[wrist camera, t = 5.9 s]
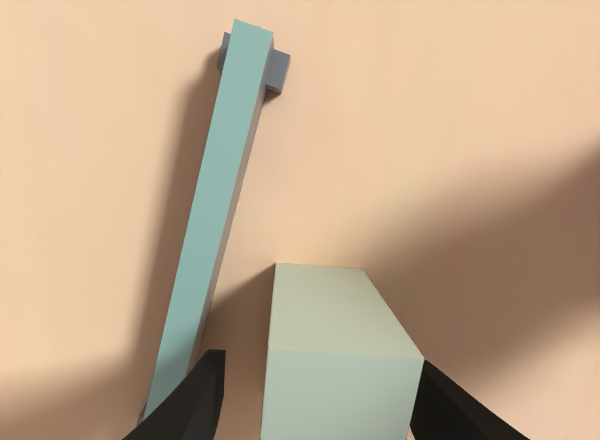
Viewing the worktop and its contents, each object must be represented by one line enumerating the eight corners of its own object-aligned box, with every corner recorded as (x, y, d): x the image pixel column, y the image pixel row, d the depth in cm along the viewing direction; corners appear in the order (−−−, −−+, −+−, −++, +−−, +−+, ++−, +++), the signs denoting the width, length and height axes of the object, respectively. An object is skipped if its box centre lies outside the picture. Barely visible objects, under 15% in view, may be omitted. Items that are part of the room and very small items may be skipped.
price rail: (289, 62, 11) (291, 39, 9) (190, 429, 14) (174, 477, 12) (229, 41, 11) (214, 11, 8) (143, 420, 14) (117, 467, 12)
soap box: (341, 394, 14) (380, 555, 9) (263, 391, 14) (248, 554, 8) (362, 268, 13) (424, 358, 7) (275, 261, 13) (267, 349, 7)
